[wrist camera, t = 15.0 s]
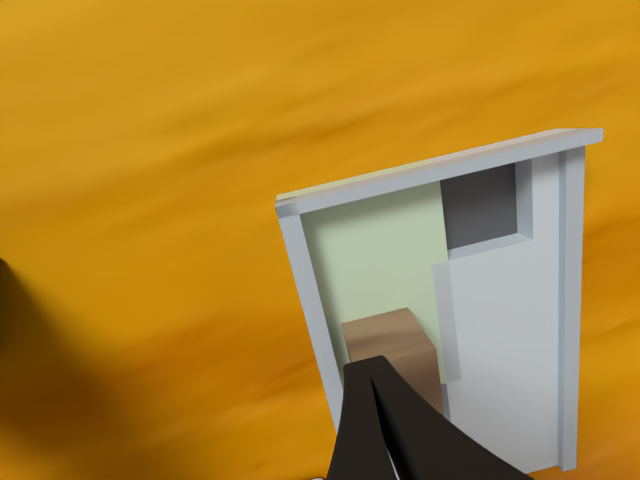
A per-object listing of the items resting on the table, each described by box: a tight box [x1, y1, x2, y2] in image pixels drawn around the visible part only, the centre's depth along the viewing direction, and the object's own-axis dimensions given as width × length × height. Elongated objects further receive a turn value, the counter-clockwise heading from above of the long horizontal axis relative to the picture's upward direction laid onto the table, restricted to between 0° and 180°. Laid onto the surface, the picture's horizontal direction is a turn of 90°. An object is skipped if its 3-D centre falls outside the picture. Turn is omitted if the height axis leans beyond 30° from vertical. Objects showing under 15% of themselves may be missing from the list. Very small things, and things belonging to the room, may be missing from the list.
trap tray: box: [275, 128, 603, 480], centre depth 21 cm, size 24×16×3 cm, turn 13°
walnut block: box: [341, 307, 444, 414], centre depth 19 cm, size 4×4×4 cm
